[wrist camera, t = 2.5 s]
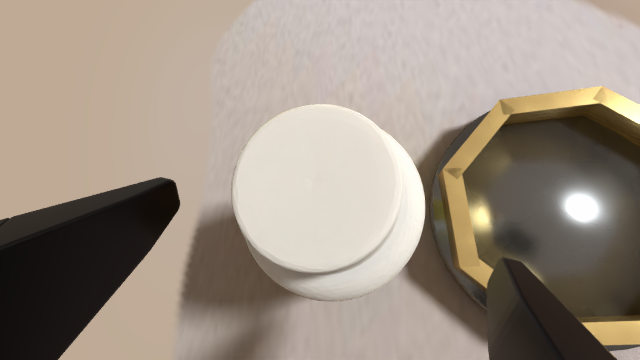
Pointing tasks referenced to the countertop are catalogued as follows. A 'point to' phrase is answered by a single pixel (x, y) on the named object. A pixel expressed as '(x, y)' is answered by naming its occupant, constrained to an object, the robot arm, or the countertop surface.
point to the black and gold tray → (549, 204)
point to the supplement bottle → (327, 202)
